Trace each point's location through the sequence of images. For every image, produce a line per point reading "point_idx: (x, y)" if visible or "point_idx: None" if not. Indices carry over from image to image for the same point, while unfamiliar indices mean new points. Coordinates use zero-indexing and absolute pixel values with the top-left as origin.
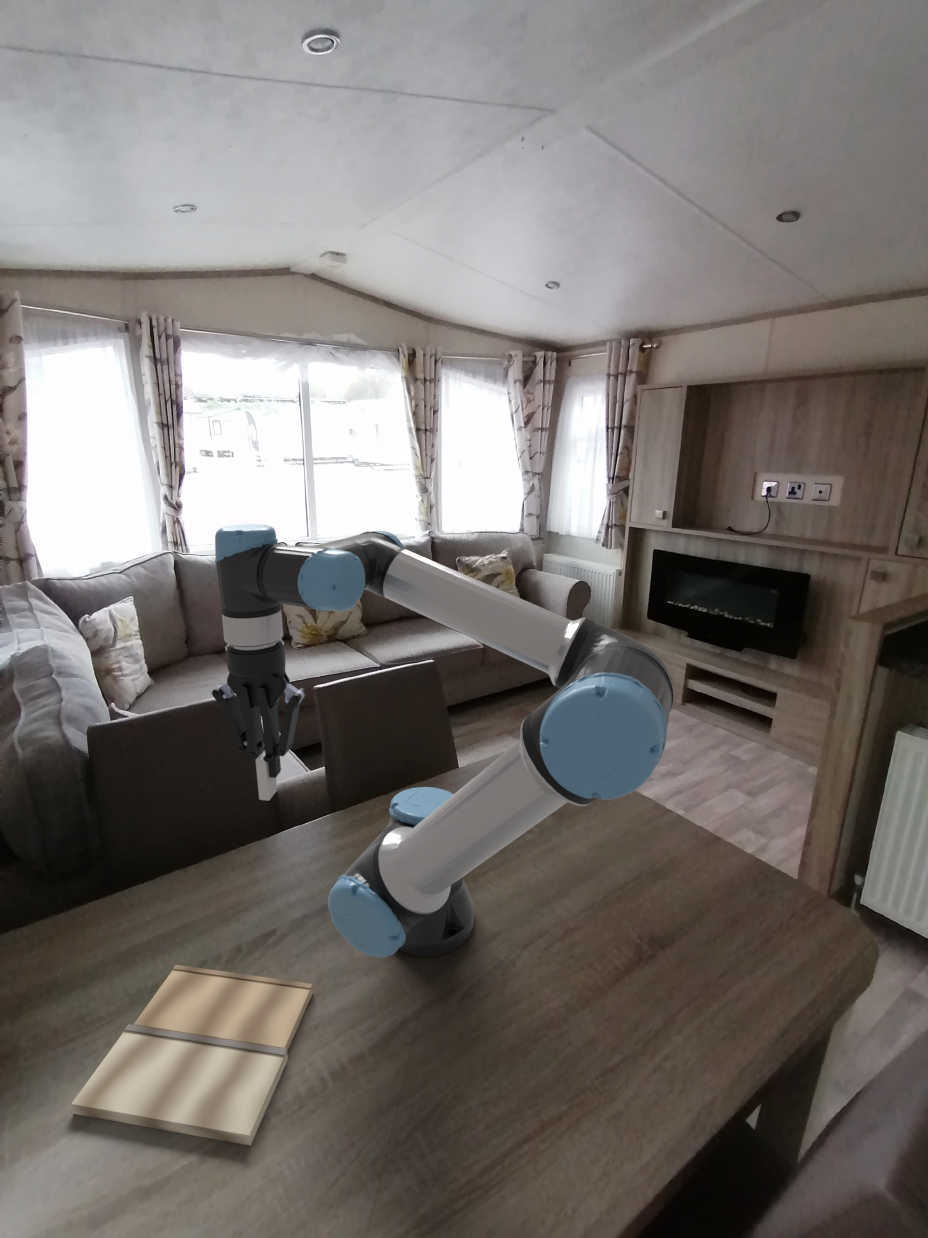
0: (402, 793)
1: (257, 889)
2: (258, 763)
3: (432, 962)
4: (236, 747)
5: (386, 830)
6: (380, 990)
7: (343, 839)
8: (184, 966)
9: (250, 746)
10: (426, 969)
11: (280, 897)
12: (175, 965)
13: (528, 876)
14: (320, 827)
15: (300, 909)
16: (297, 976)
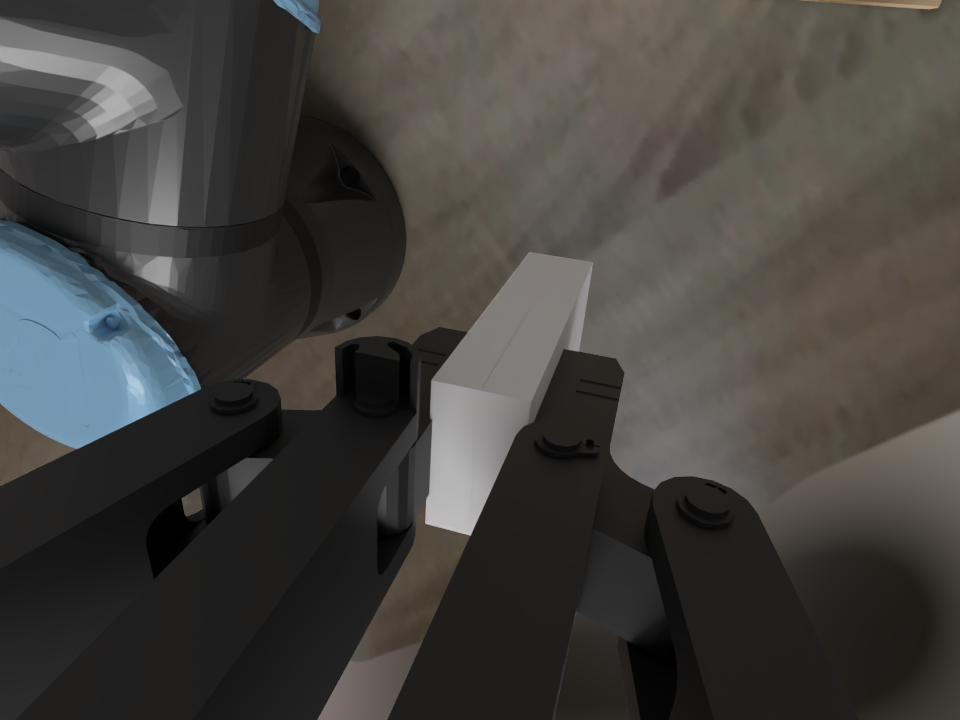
0: (118, 405)
1: (751, 336)
2: (515, 377)
3: None
4: (743, 531)
5: (134, 226)
6: (360, 10)
7: None
8: (906, 2)
9: (548, 503)
10: None
11: (678, 306)
12: (939, 3)
13: None
14: None
15: (613, 263)
16: (566, 35)
